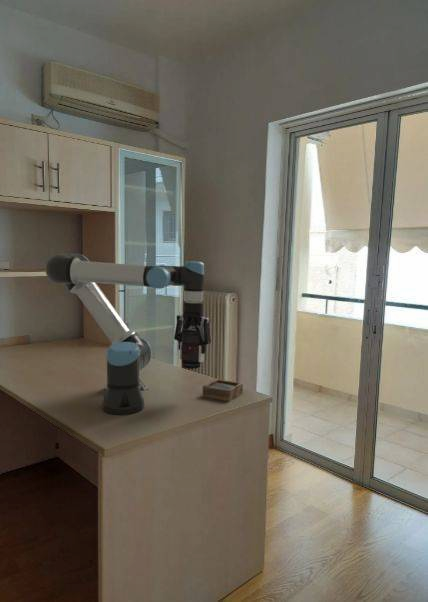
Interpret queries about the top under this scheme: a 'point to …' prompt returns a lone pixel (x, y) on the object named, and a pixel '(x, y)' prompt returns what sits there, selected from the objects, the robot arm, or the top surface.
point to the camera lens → (190, 348)
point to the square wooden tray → (222, 390)
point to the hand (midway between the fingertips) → (191, 359)
